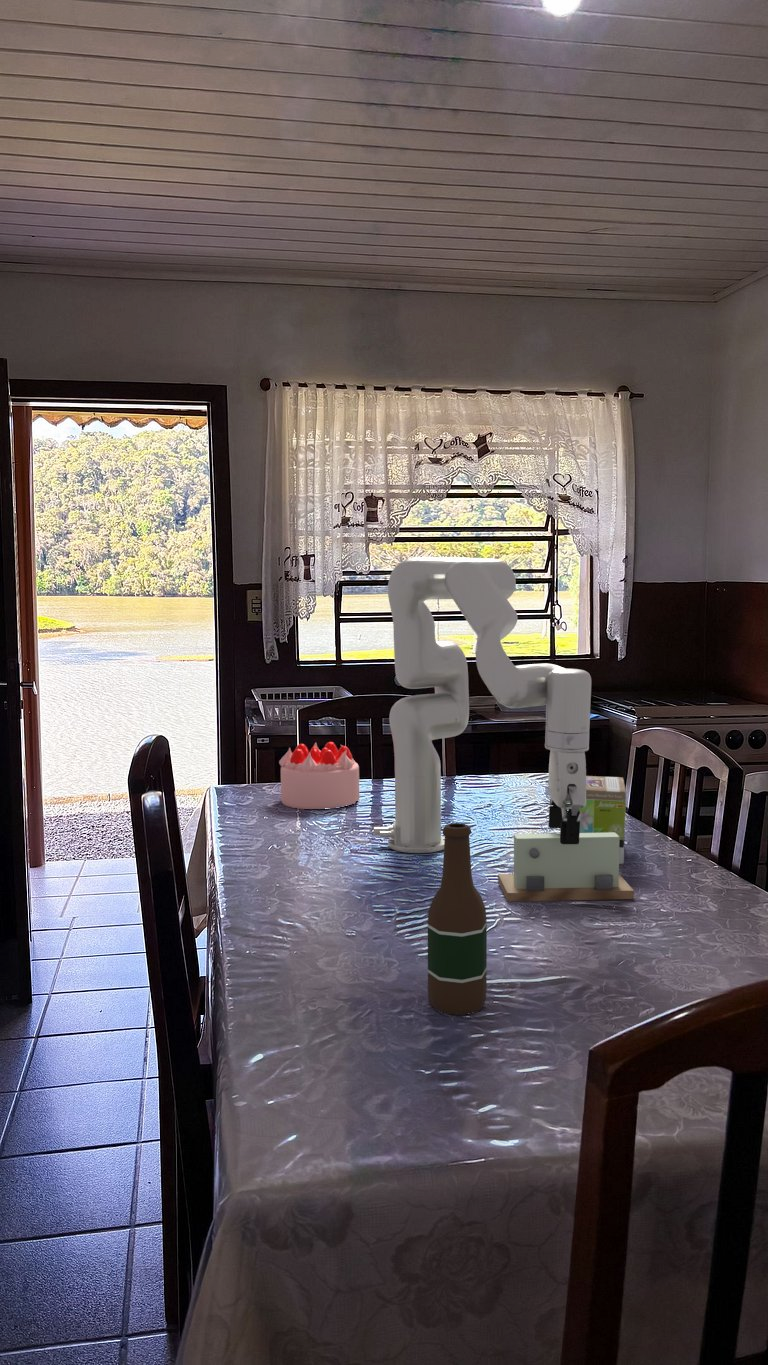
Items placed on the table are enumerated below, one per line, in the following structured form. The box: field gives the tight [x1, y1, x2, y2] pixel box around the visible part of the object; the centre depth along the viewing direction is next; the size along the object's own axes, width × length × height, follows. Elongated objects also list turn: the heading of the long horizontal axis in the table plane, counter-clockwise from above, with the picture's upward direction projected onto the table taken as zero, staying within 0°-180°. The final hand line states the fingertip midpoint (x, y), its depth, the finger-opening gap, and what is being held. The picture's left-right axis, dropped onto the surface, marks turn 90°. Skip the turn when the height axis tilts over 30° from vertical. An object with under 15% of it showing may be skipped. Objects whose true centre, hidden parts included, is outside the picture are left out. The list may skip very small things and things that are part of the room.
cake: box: [278, 741, 360, 810], centre depth 248 cm, size 20×20×14 cm
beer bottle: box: [427, 822, 488, 1016], centre depth 128 cm, size 8×8×24 cm
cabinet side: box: [497, 873, 635, 902], centre depth 176 cm, size 22×11×2 cm, turn 92°
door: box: [513, 832, 620, 889], centre depth 173 cm, size 18×4×9 cm, turn 92°
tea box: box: [579, 775, 627, 865], centre depth 199 cm, size 15×10×15 cm, turn 168°
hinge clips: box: [526, 875, 613, 892], centre depth 174 cm, size 15×6×2 cm, turn 92°
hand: (563, 835), depth 174 cm, fingers open, 9 cm apart
